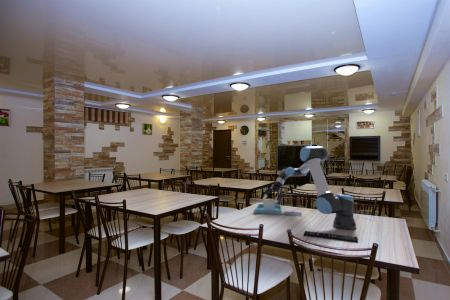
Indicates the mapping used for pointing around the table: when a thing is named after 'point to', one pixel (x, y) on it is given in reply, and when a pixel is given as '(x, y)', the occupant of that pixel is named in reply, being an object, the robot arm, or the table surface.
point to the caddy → (269, 204)
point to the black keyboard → (331, 236)
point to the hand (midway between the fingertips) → (268, 201)
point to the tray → (260, 210)
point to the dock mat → (293, 214)
